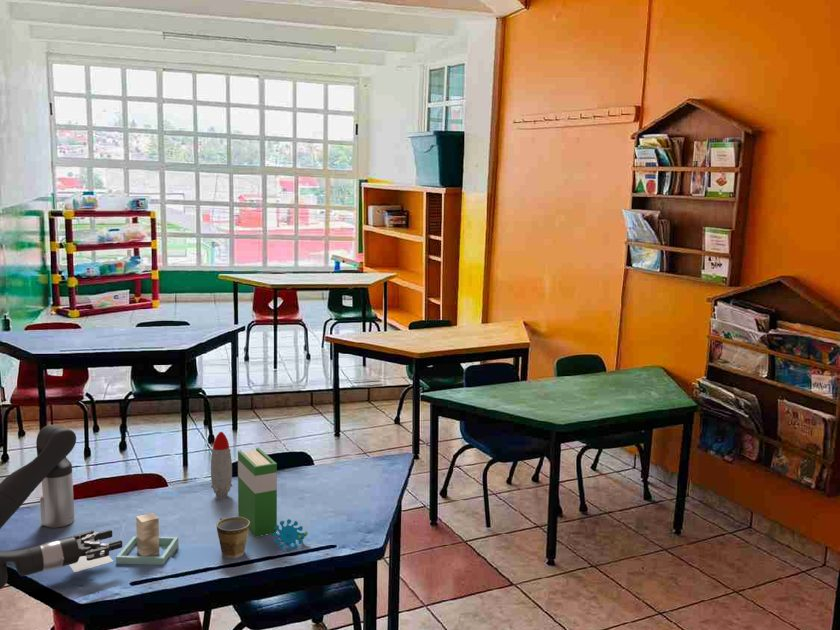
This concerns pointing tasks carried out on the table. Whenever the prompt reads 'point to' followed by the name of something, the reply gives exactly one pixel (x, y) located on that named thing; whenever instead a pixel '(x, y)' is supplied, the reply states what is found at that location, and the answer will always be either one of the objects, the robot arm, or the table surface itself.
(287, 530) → the teal virus model
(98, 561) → the white board
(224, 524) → the ceramic cup
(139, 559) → the tray
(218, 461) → the toy rocket
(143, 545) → the birch block
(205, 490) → the table surface
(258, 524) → the hardback book
